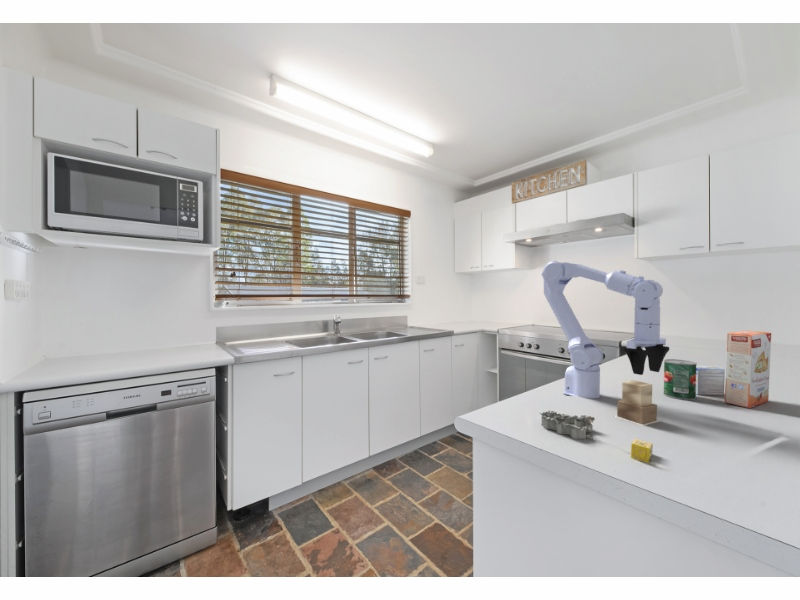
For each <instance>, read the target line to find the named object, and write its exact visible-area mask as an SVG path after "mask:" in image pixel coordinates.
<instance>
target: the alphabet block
mask: <svg viewBox="0 0 800 600" xmlns="http://www.w3.org/2000/svg"><path fill="white" fill-rule="evenodd" d="M630 445H631V447H630V448H631V449H630V458H631V459H634V460H637V461H641V462H645V463H647V464H649V463H650V462H651V457H652V455H653V446H654V445H653V443H652V442H648V441H645V440H641V439H638V438H634V439H633V441H632V443H631V444H630Z"/></svg>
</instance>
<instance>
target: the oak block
mask: <svg viewBox="0 0 800 600" xmlns="http://www.w3.org/2000/svg"><path fill="white" fill-rule="evenodd" d="M621 385H622V386H621V387H622V391H621V392H622V393H621V394H622V397H621V398H622V399H621V400H622V402H626V403H629V404H633V405H636V406H640V407H642V406H647V405H651V404H653V384H652V383H649V382H648V383H647V382H643V381H639V380H634V379H633V380H626V381H622V384H621Z"/></svg>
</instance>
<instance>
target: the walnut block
mask: <svg viewBox="0 0 800 600" xmlns="http://www.w3.org/2000/svg"><path fill="white" fill-rule="evenodd" d="M616 407H617V409H616V410H617V411H616V412H617V414H616V416H617V417H616V418H618V417H620V418H619V419H621V418H623V419H622V420H624V419H626V420H625V421H627V420H629V421H628V422H630V421H632V422H631V423H633V422H636V423H639V424H642V425H643V424H646V423H650V422H654V421H657V420H658V418H657V417H658V416H657V415H658V404H655V403H652V404H651V405H647V406H642V407H640V406H636V405H633V404H629V403H626V402H622V399H620V400H617V406H616ZM636 423H635V424H636ZM639 424H638V425H639ZM642 425H641V426H642Z"/></svg>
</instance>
